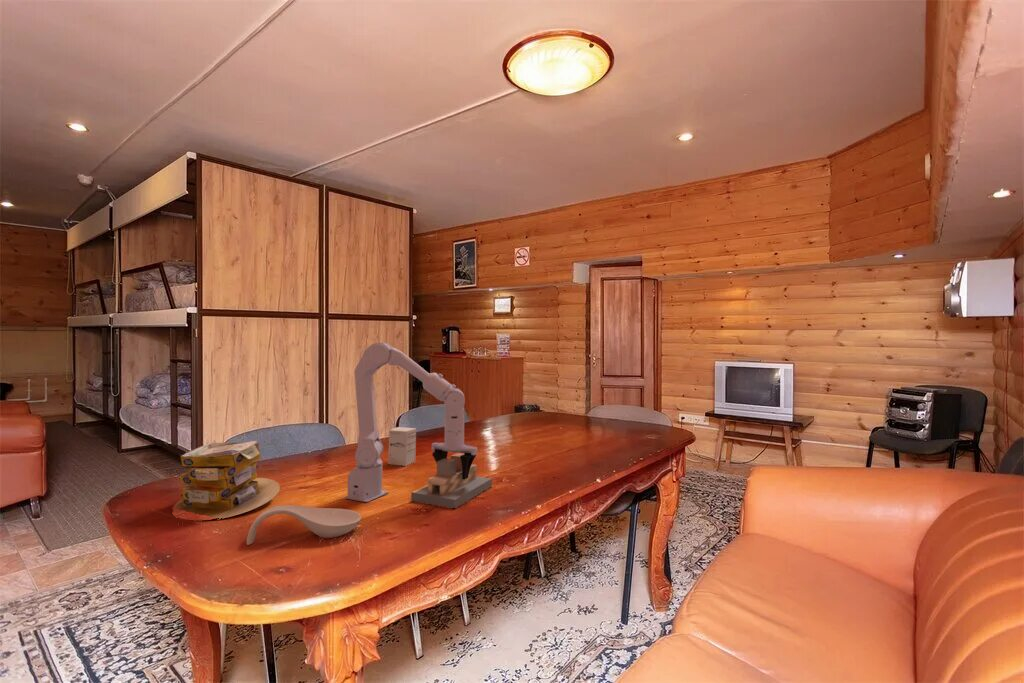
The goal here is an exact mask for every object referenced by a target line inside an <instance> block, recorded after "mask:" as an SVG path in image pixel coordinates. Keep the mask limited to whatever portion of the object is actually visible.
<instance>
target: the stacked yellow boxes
mask: <svg viewBox="0 0 1024 683" xmlns="http://www.w3.org/2000/svg"><path fill="white" fill-rule="evenodd" d="M259 445H260V444H259V442H258V441H257V440H252V441H251V440H250V441H247V442H245V441H243V442H242V441H241V442H238V441H237V442H236V441H233V442H224V441H223V442H216V441H214V442H207V443H205V444H204V445H201V446H199V447H196V448H194V449H191V450H188V452H187V451H186V452H185V453H183V454H182V455H180V461H181V465H182V467H188V468H187V470H184V471H183V472H181V473H179V477H180V482H181V485H182V486H184V485H185V487H183V488H182V489H181V494H180V497H181V499H179V500H178V501H177V503H175V504H174V505H173V507H172V509H173V508H176V509H179V510H185V511H186V512H190V513H191V512H192V513H193V512H194V514H199V515H206V516H209V517H213V518H219V519H218V520H221V518H222V519H225V518H230V517H234V516H237V515H241V514H244V513H246V512H249V511H252V510H255V509H257V508H259V507H261V506H263V505H265V504H267V503H269V502H270V501H271V500H272V499H274V498H275V496H277V495H278V493H279V491H280V489H281V487H280V484H279V483H278V482H277V481H276V480H274V479H270V478H265V477H258V474H257V472H258V471H257V469H258V467H259V466H258V465H257V463H256V462H258V461H260V460H261V458H262V457H261V450H260V446H259Z"/></svg>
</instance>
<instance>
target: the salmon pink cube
mask: <svg viewBox="0 0 1024 683" xmlns="http://www.w3.org/2000/svg"><path fill="white" fill-rule="evenodd" d="M461 455H464V453H454V454H451V455H450V459H453V460H456V470H461V471H462V463H461V458H460V456H461Z"/></svg>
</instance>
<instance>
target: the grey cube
mask: <svg viewBox="0 0 1024 683" xmlns="http://www.w3.org/2000/svg"><path fill="white" fill-rule="evenodd" d="M455 474H456V460H453V459H451V458H447V459H445V458H444V459H442V460H439V461H437V463H436V475H437V476H443V477H451V476H453V475H455Z"/></svg>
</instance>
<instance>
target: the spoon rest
mask: <svg viewBox="0 0 1024 683" xmlns="http://www.w3.org/2000/svg"><path fill="white" fill-rule="evenodd" d="M280 514H283V515H284V514H285V515H288V516H291V517H294V518H295V519H297V520H298V521H299V522H301V523H302V524H303V525H304V526H305V527H306V528H307V529H308V530H309V531H310V532H312V533H313V534H315V535H317V537H320V538H324V539H325V538H326V539H331V538H332V539H333V538H337V537H341V536H344V535H346V534H348V533H350V532H351V531H353V529H355V528H356V527H357V526H358V524H359V523H360V521H361V520H362V516H361V514H360V513H359V512H357V511H355V510H351V509H347V508H346V509H344V508H333V507H332V508H331V507H329V508H328V507H327V508H326V507H325V508H324V507H313V506H307V505H306V506H304V505H296V504H295V505H294V504H285V505H284V504H283V505H277V506H273V507H272V506H271V508H268V509H266V510H264V511H263V512H261V513H259V515H257V517H256V518H255V519H254V521H253V523H252V524H251V526H250V528H249V530H248V533H247V538H246V545H247V546H250V545H252V544H253V543H254V541H255V539H256V534H257V530H258V527H259V526H260V524H261V523H262V522H263V521H264V520H266V519H268V518H271V517H272V516H274V515H280Z"/></svg>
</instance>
